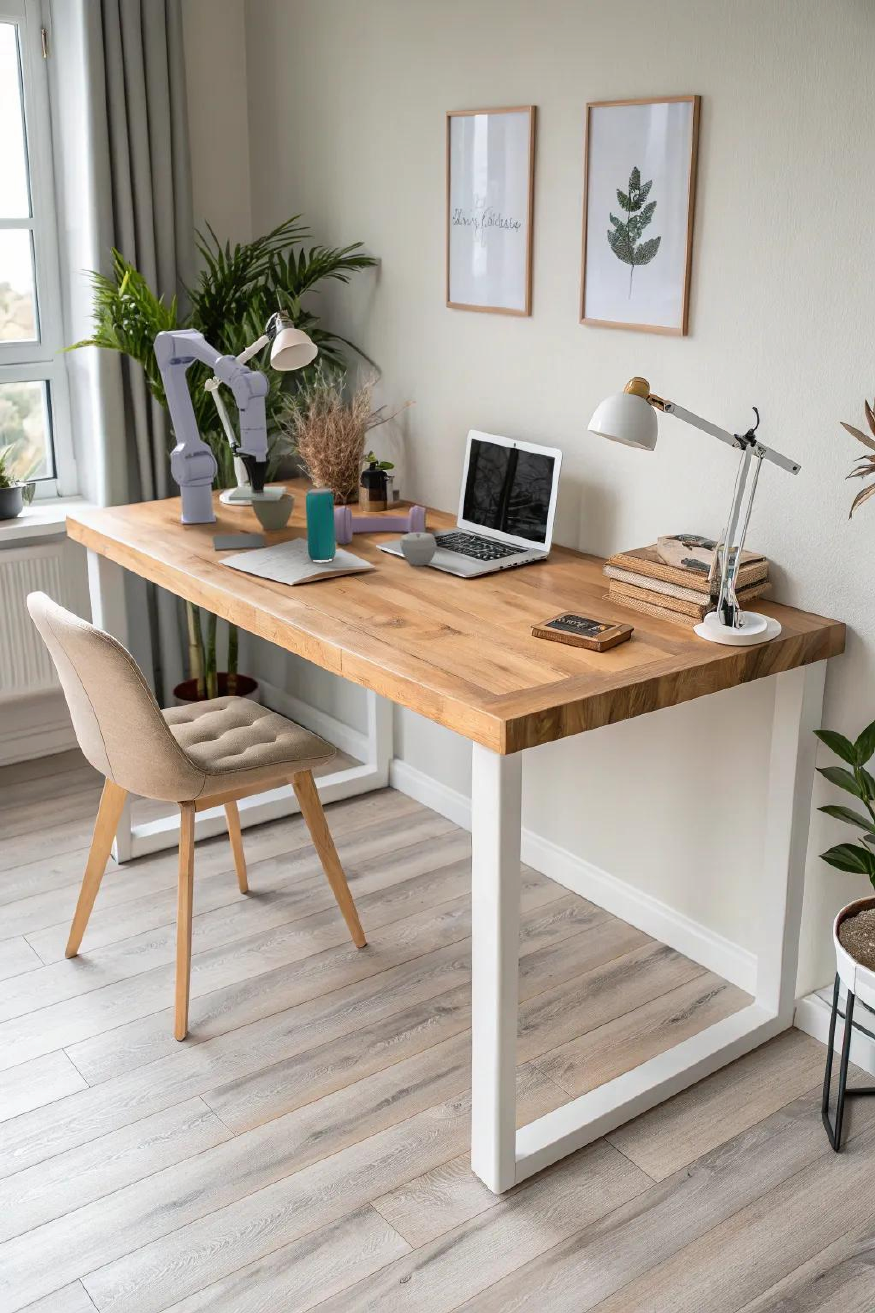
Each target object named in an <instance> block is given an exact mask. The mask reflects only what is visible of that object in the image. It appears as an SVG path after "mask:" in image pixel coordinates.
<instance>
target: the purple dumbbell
mask: <svg viewBox="0 0 875 1313" xmlns="http://www.w3.org/2000/svg"><path fill="white" fill-rule="evenodd" d="M408 512H409V513H408V516H354V517H353V513H352V510H351V508H349V507H347V506H346V505H341V506H340V507H336V508H335V507H334V522H335V544H336V543H338V544H340V545H344V546H345V545H347V544H350V543H351V542H352V539H353V533H355V534H356V533H378V532H379V533H380V532H387V533H388V532H390V533H408V534H409V533H415V532H423V533H427V530H426V529H427V518H426V516H427V514H426V508H425V507H422V506H420V505H414V506H411V507H410V509H409V510H408Z"/></svg>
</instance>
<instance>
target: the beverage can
mask: <svg viewBox="0 0 875 1313" xmlns="http://www.w3.org/2000/svg"><path fill="white" fill-rule="evenodd" d="M332 491H333V490H332V488H329V487H321V486H319V487H311V488H308V489H307V490H306V492H307V493H306V495H305V512H306V515H305V516H306V517H305V518H306V532H307V533H306V536H307V537H306V538H307V552H308V556H309V558H310V560H329V559H333V558H335V556H336V552H337V550H336V549H337V548H336V542H335V522H334V511H335V502H334V501H335V500H334V494H333V492H332ZM333 560H334V559H333Z"/></svg>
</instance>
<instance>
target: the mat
mask: <svg viewBox="0 0 875 1313" xmlns="http://www.w3.org/2000/svg"><path fill="white" fill-rule="evenodd" d="M262 533H263V532H261V533H259V532H258V533H245V534H244V533H243V534H242V533H241V534H230V535H229V534H227V535H215V536H213V535H212V541H213V545H214V546H213V547H214V551H216V552H218V551H219V552H220V551H222V552H223V551H234V550H237V551H238V550H249V549H266V548H267V545H266V541H265V539H264V537H263V536H264V535H263V534H262Z"/></svg>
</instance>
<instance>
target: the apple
mask: <svg viewBox="0 0 875 1313" xmlns="http://www.w3.org/2000/svg"><path fill="white" fill-rule="evenodd" d="M399 545H400V549H401V552H402V555H403V556H404V558H405V560H406V562H407V563H408V565H411V566H416V567H418V566H419V567H420V566H422V567H423V566H426V565H428V564H430V562H432V561H433V558H434V557H435V553H436V550H437V547H438V544H437V542H436V538H435V536H434V535H433V534H432V533H429V532H428V533H427V532H426V533H423V532H415V533H409V532H408V533H405V534H402V535H401V537H400V542H399Z"/></svg>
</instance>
